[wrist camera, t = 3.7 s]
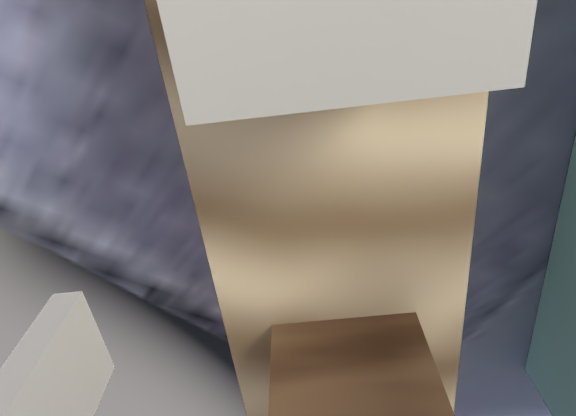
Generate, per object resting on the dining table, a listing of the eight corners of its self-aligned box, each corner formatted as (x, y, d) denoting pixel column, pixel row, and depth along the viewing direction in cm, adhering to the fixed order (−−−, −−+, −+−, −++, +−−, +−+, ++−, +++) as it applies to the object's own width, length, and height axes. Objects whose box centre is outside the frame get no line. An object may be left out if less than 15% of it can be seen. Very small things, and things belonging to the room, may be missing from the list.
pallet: (137, -270, 14) (3, -484, 8) (444, -320, 14) (596, -597, 7) (264, 365, 29) (256, 486, 22) (416, 352, 28) (457, 473, 21)
